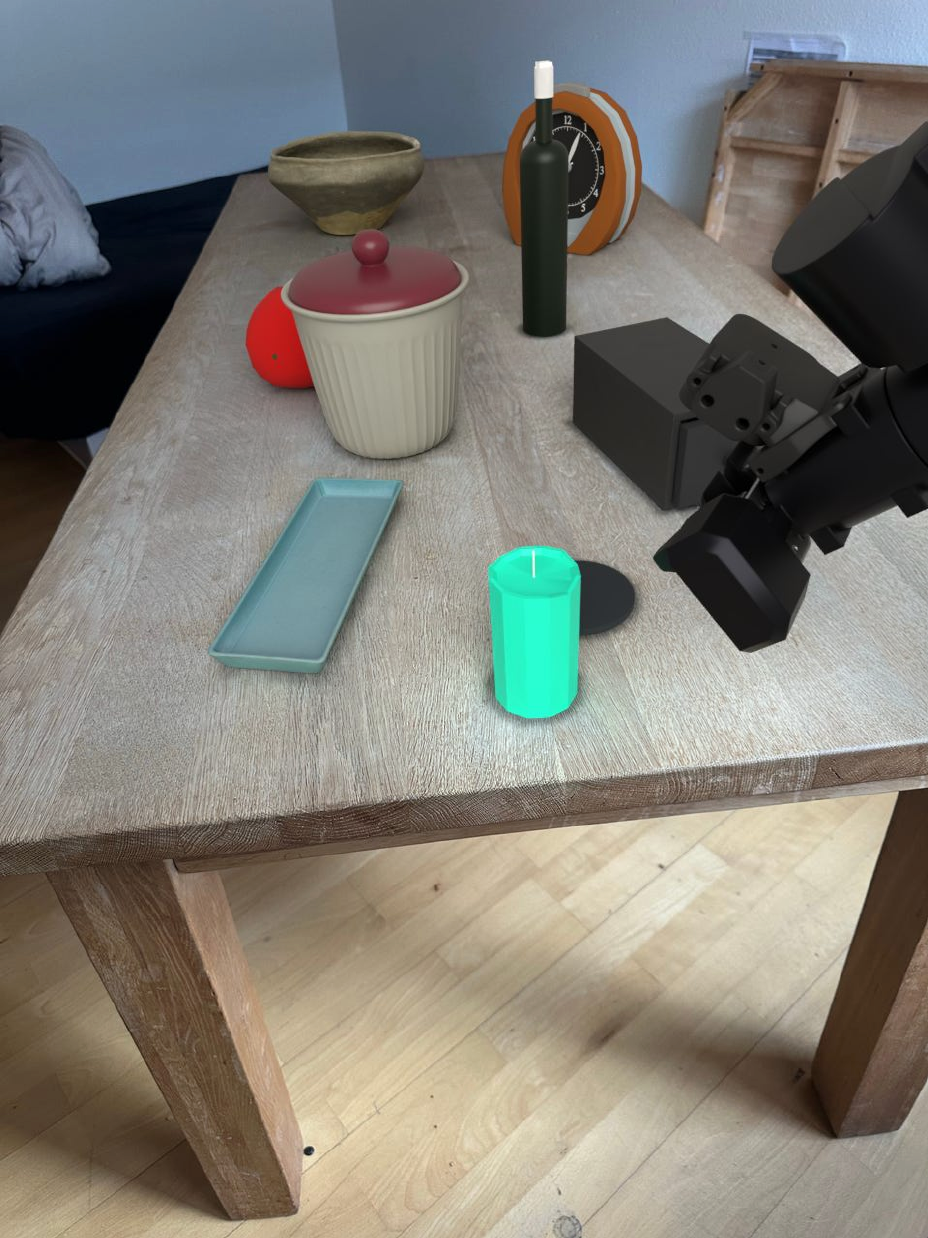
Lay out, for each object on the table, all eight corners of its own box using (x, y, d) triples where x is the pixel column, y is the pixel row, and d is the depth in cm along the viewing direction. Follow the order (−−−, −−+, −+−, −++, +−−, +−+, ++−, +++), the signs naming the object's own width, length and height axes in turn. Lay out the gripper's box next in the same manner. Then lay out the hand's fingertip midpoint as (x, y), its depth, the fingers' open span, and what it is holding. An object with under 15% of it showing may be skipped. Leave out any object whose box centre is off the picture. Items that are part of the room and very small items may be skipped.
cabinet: (764, 485, 79) (782, 389, 73) (663, 511, 77) (673, 414, 71) (659, 402, 94) (667, 316, 88) (572, 422, 91) (574, 335, 85)
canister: (499, 407, 95) (491, 206, 82) (442, 489, 82) (421, 265, 69) (355, 393, 101) (326, 202, 87) (281, 467, 88) (232, 256, 74)
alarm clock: (495, 241, 144) (490, 86, 130) (528, 226, 150) (525, 76, 136) (609, 258, 133) (616, 91, 119) (639, 241, 139) (650, 79, 125)
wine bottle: (536, 318, 116) (534, 57, 97) (573, 324, 113) (579, 57, 94) (514, 332, 112) (508, 64, 93) (552, 339, 109) (553, 65, 90)
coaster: (658, 604, 67) (659, 598, 66) (570, 651, 63) (570, 645, 63) (583, 553, 73) (584, 547, 72) (499, 593, 69) (499, 587, 69)
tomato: (291, 427, 102) (360, 387, 110) (321, 351, 92) (394, 313, 100) (215, 356, 102) (290, 321, 111) (238, 272, 92) (318, 241, 101)
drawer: (777, 491, 77) (793, 412, 72) (685, 515, 75) (695, 435, 70) (667, 405, 91) (673, 334, 86) (588, 423, 89) (590, 351, 84)
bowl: (311, 260, 143) (295, 167, 134) (259, 225, 162) (243, 142, 153) (456, 227, 152) (450, 139, 143) (391, 199, 171) (382, 119, 162)
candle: (508, 727, 58) (502, 588, 50) (483, 670, 62) (474, 535, 55) (590, 707, 59) (596, 567, 51) (560, 652, 63) (561, 516, 56)
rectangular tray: (317, 494, 83) (312, 472, 82) (407, 498, 82) (404, 475, 80) (212, 678, 63) (203, 653, 62) (328, 687, 62) (322, 662, 60)
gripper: (861, 212, 41) (634, 386, 53) (747, 353, 29) (488, 537, 41) (988, 390, 43) (740, 521, 55) (929, 592, 31) (629, 704, 43)
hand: (659, 561), depth 48 cm, fingers closed
